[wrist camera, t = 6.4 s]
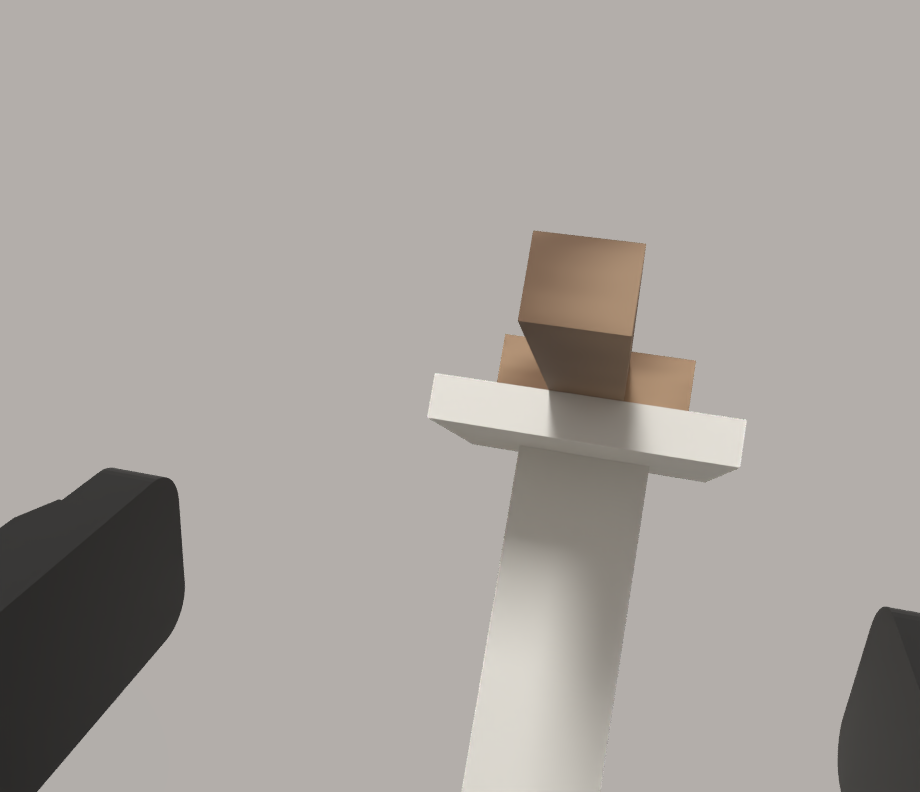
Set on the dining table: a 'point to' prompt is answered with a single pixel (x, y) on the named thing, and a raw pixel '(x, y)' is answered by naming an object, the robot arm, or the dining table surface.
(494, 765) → the white pedestal stand
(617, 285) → the tan angular block
